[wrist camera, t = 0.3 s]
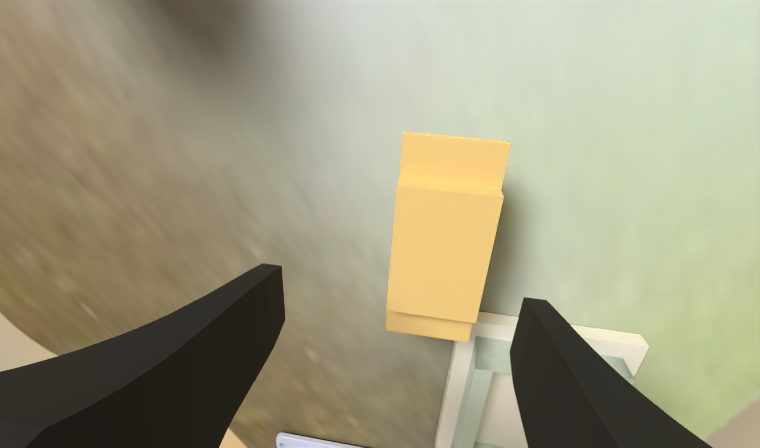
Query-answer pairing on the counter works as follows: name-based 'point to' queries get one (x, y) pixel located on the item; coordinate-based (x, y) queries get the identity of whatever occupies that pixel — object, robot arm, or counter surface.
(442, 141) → the block
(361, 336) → the counter surface
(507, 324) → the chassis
